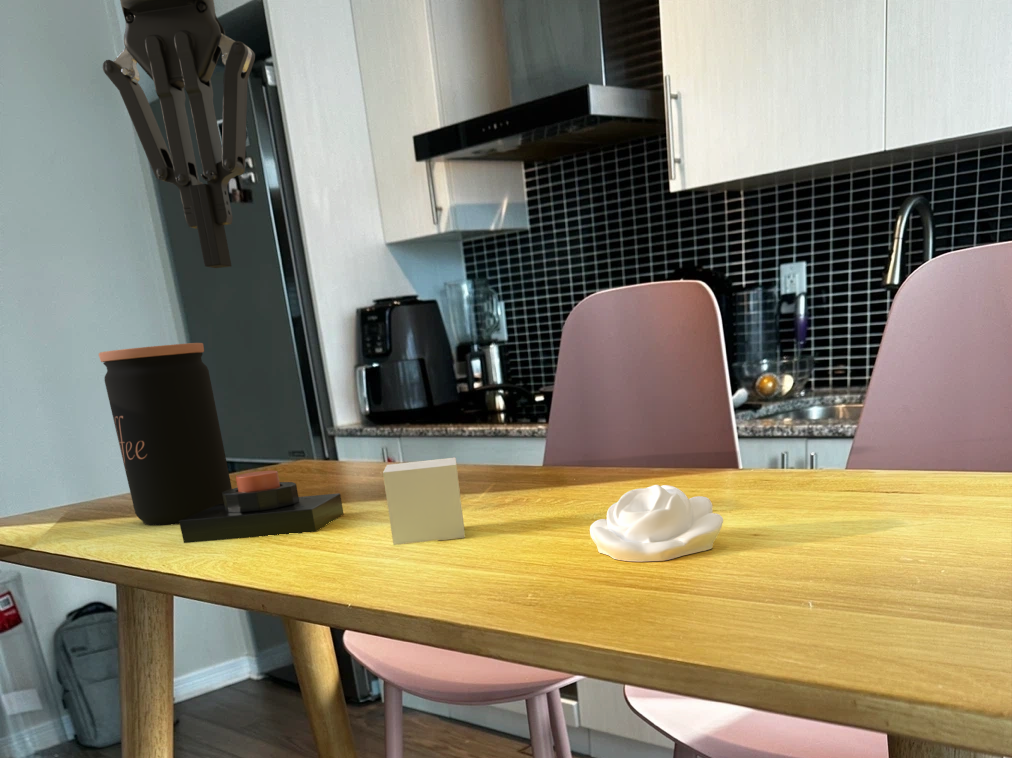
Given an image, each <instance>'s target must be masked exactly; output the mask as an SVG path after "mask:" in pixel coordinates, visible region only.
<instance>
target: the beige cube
mask: <svg viewBox="0 0 1012 758" xmlns="http://www.w3.org/2000/svg"><path fill="white" fill-rule="evenodd" d="M382 477H383V484H384V490H385V491H384V492H385V498H386V504H387V510H388V512H387V513H388V517H389V525H390V531H391V539H392V545H393V546H395V545H405V544H413V543H415V544H416V543H422V542H423V543H424V542H432V541H446V540H447V541H448V540H456V539H457V540H458V539H464V538H466V534H465V523H464V515H463V507H462V499H461V489H460V484H459V483H460V482H459V473H458V465H457V458H456V457H447V458H446V457H445V458H437V459H429V460H420V461H419V460H418V461H410V462H409V461H408V462H400V463H399V462H398V463H390V464H386V465H385V468H384V470H383V472H382Z"/></svg>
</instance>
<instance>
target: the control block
mask: <svg viewBox="0 0 1012 758" xmlns="http://www.w3.org/2000/svg"><path fill="white" fill-rule="evenodd" d="M279 483H280V487H276V488H272V489H265V490H258V491H248V492H238V487H235V488H232V489H229V490H227V491H224V492H222V495H223V500H224V504H218V505H215V506H213V507H211V508H208V509H206V510H203V511H201V512H199V513H196V514H194V515H192V516H189V517H187V518H184V519H182V520H180V521H179V523H180V524H179V528H180V532H181V537H182V540H183V544H189V543H201V542H203V543H204V542H213V541H214V542H215V541H225V540H236V539H237V540H238V538H239V539H249V537H250V538H259V536H262V537H269V536H268V535H274V536H280V535H279V534H286V535H290V534H289V533H298V534H303V533H302V532H310V533H316V532H318V531H320V530H321V529H323V528H324V527H326V526H327V525H326V524H328V523H329V522H331V521H332V522H334V521H336V520H337V519H338V517H339V518H340V517H341V515H342V516H343V515H344V507H343V501H342V495H341V493H340V492H338V493H337V492H336V493H328V494H316V495H306V496H305V495H304V496H299V491H298V486H297V483H296V482H293V481H279ZM336 518H337V519H336ZM333 520H334V521H333ZM332 522H331V523H332ZM329 524H330V523H329ZM329 524H328V525H329ZM325 525H326V526H325ZM322 527H323V528H322ZM320 528H321V529H320ZM319 529H320V530H319ZM317 530H318V531H317ZM277 534H278V535H277Z"/></svg>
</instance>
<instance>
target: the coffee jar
mask: <svg viewBox="0 0 1012 758" xmlns="http://www.w3.org/2000/svg"><path fill="white" fill-rule="evenodd" d="M204 352H205V348H204V343H203V342H190V343H176V344H164V345H153V346H152V345H151V346H141V347H131V348H122V349H114V350H113V349H112V350H107V351H100V352H99V353H98V357H99V361H100V362H101V363H103V365H104V366H105V367H106V370H107V371H106V373H105V375H104V383H105V384H104V385H105V389H106V393H107V397H108V402H109V406H110V407H109V408H110V410H111V415H112V420H113V422H114V423H113V424H114V427H115V432H116V436H117V441H118V446H119V449H120V453H121V458H122V462H123V466H124V471H125V475H126V479H127V485H128V488H129V493H130V497H131V501H132V506H133V510H134V514H135V515H136V517H137V518H138V519H139V520H141V521H142V523H143V524H144V525H145V526H152V527H153V526H156V527H157V526H171V524H173V525H180V524H179V521H180V520H182V519H184V518H187V517H189V516H192V515H194V514H196V513H199V512H201V511H203V510H206V509H208V508H211V507H213V506H215V505H218V504H224V500H223V495H222V492H224V491H227V490H229V489H233V487H232V482H231V477H230V472H229V468H228V463H227V462H228V461H227V458H226V457H227V456H226V451H225V447H224V442H223V436H222V432H221V426H220V421H219V417H218V412H217V411H218V410H217V405H216V401H215V396H214V391H213V386H212V381H211V376H210V371H209V368H208V366H207V365H206V364H205V363H204V362H203V360H202V357H203V353H204Z"/></svg>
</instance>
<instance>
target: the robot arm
mask: <svg viewBox="0 0 1012 758" xmlns="http://www.w3.org/2000/svg"><path fill="white" fill-rule="evenodd" d="M119 1H120V6H121V7H120V8H121V10H122V14H123V17H124V22H125V29H124V34H123V44H124V48H123V49H122V50H121V51H120V53H119V54H118V55H117V57H115V59H113V60H111V59H105V60H104V62H103V63H102V71H103V73H104V75H106V77H107V78H108V79H109V80H110V82H111V83H112V84H113V85H114V86H115V87H116V89H117V90H118V92H119V94H120V96H121V99H122V102H123V103H124V106H125V108H126V110H127V113H128V115H129V117H130V120H131V122H132V125H133V127H134V129H135V132H136V134H137V136H138V139H139V141H140V143H141V146H142V148H143V151H144V153H145V155H146V158H147V161H148V162H149V165H150V167H151V170H152V172H153V174H154V177H155V178H156V179H157V180H158V181H159V180H160V181H162V182H164V183H168V184H172V185H175V186H176V187H177V189H178V190H179V193H180V198H181V199H180V200H181V204H182V209H183V213H184V218H185V219H184V220H185V223H186V224H187V226H188V227H189V228H192V229H197V233H198V234H197V235H198V239H199V244H200V249H201V254H202V258H203V259H202V260H203V264H204V267H205V268H211V269H221V268H230V267H232V260H231V255H230V251H229V250H230V249H229V245H228V240H227V234H226V228H225V225H226V226H228V225H232V224H233V220H234V219H233V218H234V217H233V212H232V207H231V201H230V196H229V190H228V184H229V182H230V181H231V180H232V179H234V178H235V177H237V176H241V175H243V174H244V173H245V171H246V152H247V151H246V150H247V149H246V148H247V145H246V144H247V118H248V117H247V115H248V114H247V113H248V112H247V109H248V105H247V104H248V80H249V77H250V74H251V72H252V69H253V67H254V63H255V59H256V53H255V52H254V51H253V50H252V49H251V48H250V47H249V46H248V45H246V44H245V43H244V42H242V41H240V40H234V39H232V38H230V37H229V36H227V35H226V31H225V29H224V27H223V25H222V24H221V22H220V21H219V19H218V17H217V14H216V6H215V1H214V0H119ZM220 55H221V63H222V64H223V65H224V69H223V77H222V78H223V83H222V84H223V85H222V125H221V126H222V127H221V128H222V133H221V134H222V135H221V138H220V132H219V126H218V122H217V116H216V111H215V106H214V90H213V84H212V83H213V82H212V79H211V78H212V76H213V74H214V71H215V68H216V66H217V64H218V60H219V58H220ZM137 64H138V65H139V66H140V67H141V69H142V70H143V71H144V72H145V74H147V75H148V77H149V78H150V79H151V80H152V81H153V84H154V89H155V93H156V95H157V97H158V99H159V103H160V108H161V113H162V119H163V123H164V128H165V134H166V138H167V144H168V145H167V144H166V141H165V139H164V137H163V134H162V131H161V128H160V126H159V124H158V121H157V120H156V119H157V118H156V117H155V114H154V113H153V109H152V107H151V104H150V102H149V100H148V98H147V95H146V94H145V92H144V89H143V88H142V86H141V84H140V83H139V82H140V80H141V76H140V72H139V70H138V65H137ZM185 92H186V93H185ZM186 94H187V96H188V101H189V106H190V111H191V112H190V113H191V117H192V122H193V127H194V132H195V138H196V142H197V147H198V148H197V149H198V153H199V158H200V163H201V169H202V173H200V177H201V179H203V181H205V182H206V183H203V181H200V177H199V173H198V172H199V171H198V166H197V161H196V157H195V152H194V151H195V150H194V147H193V141H192V140H193V139H192V136H191V135H192V134H191V131H190V125H189V119H188V113H187V109H186V99H187V98H186ZM168 148H169V149H168Z"/></svg>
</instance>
